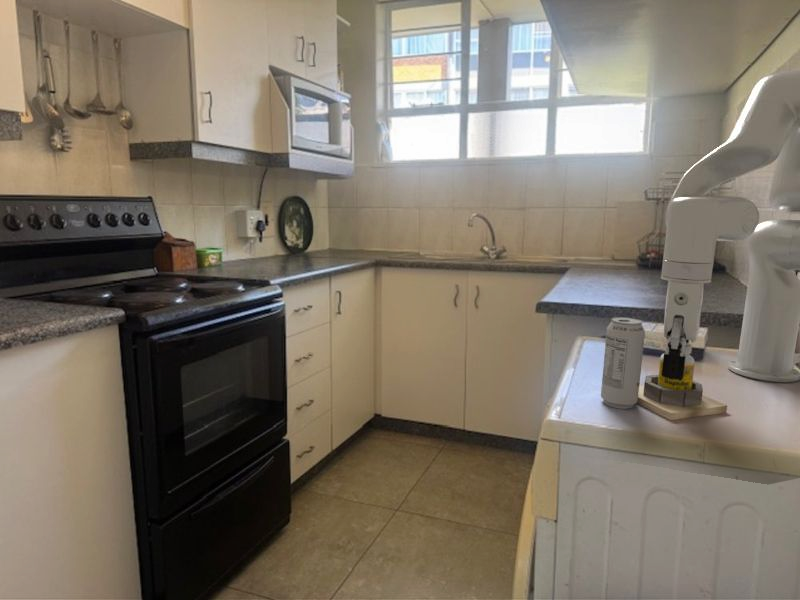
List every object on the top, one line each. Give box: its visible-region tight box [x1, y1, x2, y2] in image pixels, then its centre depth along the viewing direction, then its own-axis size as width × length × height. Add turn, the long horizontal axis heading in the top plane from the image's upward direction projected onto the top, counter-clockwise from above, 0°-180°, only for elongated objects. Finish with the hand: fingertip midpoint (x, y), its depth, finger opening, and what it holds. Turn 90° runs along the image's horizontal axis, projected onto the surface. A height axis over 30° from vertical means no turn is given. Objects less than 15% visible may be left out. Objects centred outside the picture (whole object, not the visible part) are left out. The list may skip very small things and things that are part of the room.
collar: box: [636, 373, 728, 421], centre depth 96 cm, size 12×12×4 cm
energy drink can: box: [600, 316, 646, 410], centre depth 94 cm, size 6×6×15 cm
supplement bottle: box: [658, 341, 696, 391], centre depth 95 cm, size 5×5×10 cm
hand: (674, 370), depth 95 cm, fingers open, 8 cm apart
